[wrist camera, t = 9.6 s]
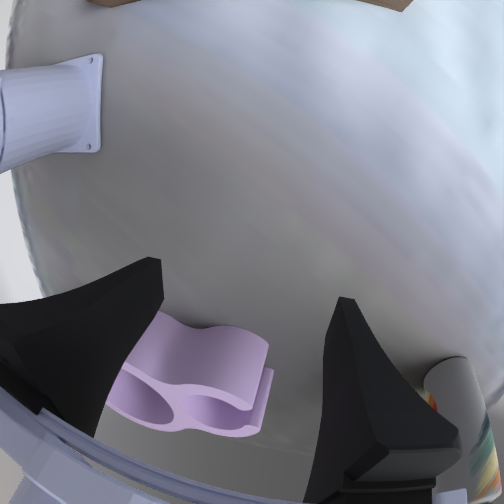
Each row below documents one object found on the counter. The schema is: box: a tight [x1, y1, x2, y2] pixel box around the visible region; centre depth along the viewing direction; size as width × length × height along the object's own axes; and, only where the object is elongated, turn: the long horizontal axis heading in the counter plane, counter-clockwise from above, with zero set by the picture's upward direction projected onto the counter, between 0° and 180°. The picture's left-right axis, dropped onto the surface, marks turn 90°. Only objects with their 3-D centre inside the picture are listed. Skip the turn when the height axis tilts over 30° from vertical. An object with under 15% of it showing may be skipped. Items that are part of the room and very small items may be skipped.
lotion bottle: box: [424, 357, 501, 504], centre depth 15 cm, size 6×6×20 cm
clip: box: [105, 310, 274, 437], centre depth 26 cm, size 20×12×7 cm, turn 100°
